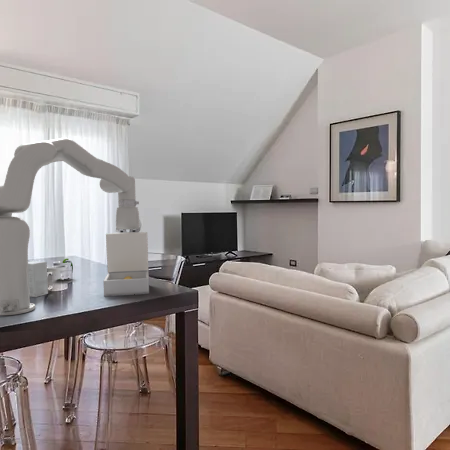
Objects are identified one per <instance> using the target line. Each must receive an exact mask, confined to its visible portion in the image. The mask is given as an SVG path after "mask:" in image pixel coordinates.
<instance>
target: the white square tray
mask: <svg viewBox="0 0 450 450" xmlns="http://www.w3.org/2000/svg"><path fill="white" fill-rule="evenodd" d="M127 276H130V277H132V279H124V278H125V277H127ZM149 279H150V278H149V270H148V271H146V272H126V273H108V272H107V274H106V276H105V278H104V279H103V296H104V297H113V296H115V297H117V296H131V295H132V296H133V295H134V294H135V295H149V294H150V280H149ZM135 295H134V296H135Z"/></svg>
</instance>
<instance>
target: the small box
mask: <svg viewBox="0 0 450 450" xmlns="http://www.w3.org/2000/svg"><path fill="white" fill-rule="evenodd" d="M47 263H48V262H47V261H36V260H32V261H31V260H30V261H28V270H29V292H30V298H38V297H41V296H45V295H48V294H49V284H48V265H47Z"/></svg>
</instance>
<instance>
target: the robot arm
mask: <svg viewBox="0 0 450 450" xmlns="http://www.w3.org/2000/svg"><path fill="white" fill-rule="evenodd" d="M13 155H14V156H13V158H12V159H11V161H10V162H9V165H8V166H7V167H8V168H7V171H6V172H7V173H6V176H5V180H4V184H3V185H0V316H15V315H20V314H26V313H30V312H31V311H34V310H35V309H36V304H35V303H32V302H31V297H30V292H29V270H28V262H29V243H30V237H31V236H30V235H31V234H30V233H31V232H30V231H31V230H30V227H29V224H28V223H27V222H26V221H25V220H24V219H22V218H21V217H19V216H18V217H17V216H13V214H19V213H24V212H26V211H27V210H29V207H30V205H31V199H32V195H33V189H34V183H35V180H36V176H37V173H38V171H40V169H41V168H43V167H45V166H48V165H50V164H52V163H56V162H57V163H58V162H64V163H66V164H67V165H69V166H70V167H71V168H73V169H75V170H76V172H78V173H80V174H81V175H83V176H86V177H90V178H94V179H95V178H96V179H99V180H100V181H99V187H100V189H101V190H102V191H103V192H105V193H109V194H112V193H113V194H115V193H118V194H117V198H118V199H117V200H118V207H116V211H115V212H116V214H115V227H116V228H115V233H120V232H127V230H129V232H141V229H140V214H139V207H137V205H140V201H139V200H138V201H137V200H136V197H137V196H136V179H135V177H133V176H129V175H128V174H127V173H126V172H125V171H124V170H123V169H121V168H120V167H118V166H116V165H114V164H112V163H110V162H107V161H105V160H102V159H100V158H98V157H96V156H94V155H93V154H91V153H90V152H89V151H88V150H86V149H85V148H83V146H81V145H80V144H78V143H77V142H76V141H75V140H73V139H71V138H69V137H68V138H67V137H61V138H56V139H49V140H41V141H35V142H30V143H25V144H20V145H19V146H18V147H16V149H15V150H14V154H13Z"/></svg>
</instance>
